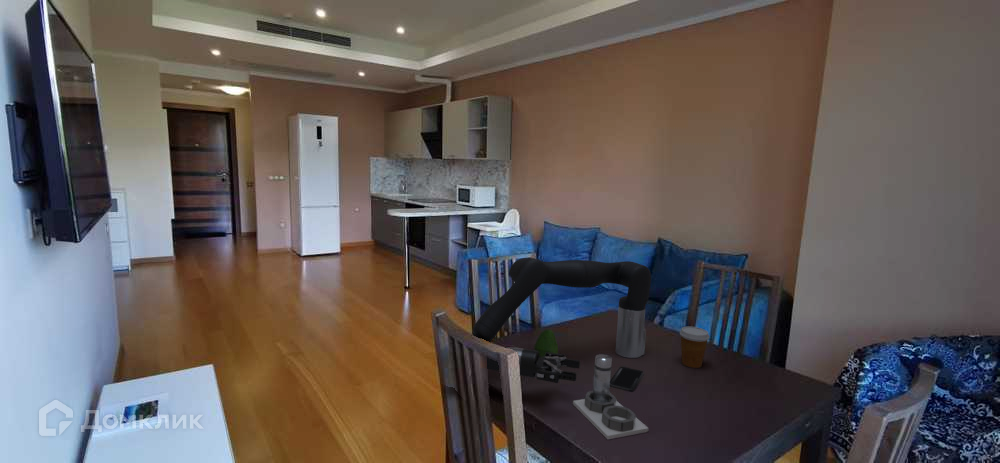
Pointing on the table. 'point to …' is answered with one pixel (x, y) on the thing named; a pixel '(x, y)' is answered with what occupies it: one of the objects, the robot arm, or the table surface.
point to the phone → (626, 379)
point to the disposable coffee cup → (693, 345)
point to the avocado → (546, 343)
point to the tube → (602, 378)
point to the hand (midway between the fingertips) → (577, 370)
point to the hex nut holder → (610, 417)
